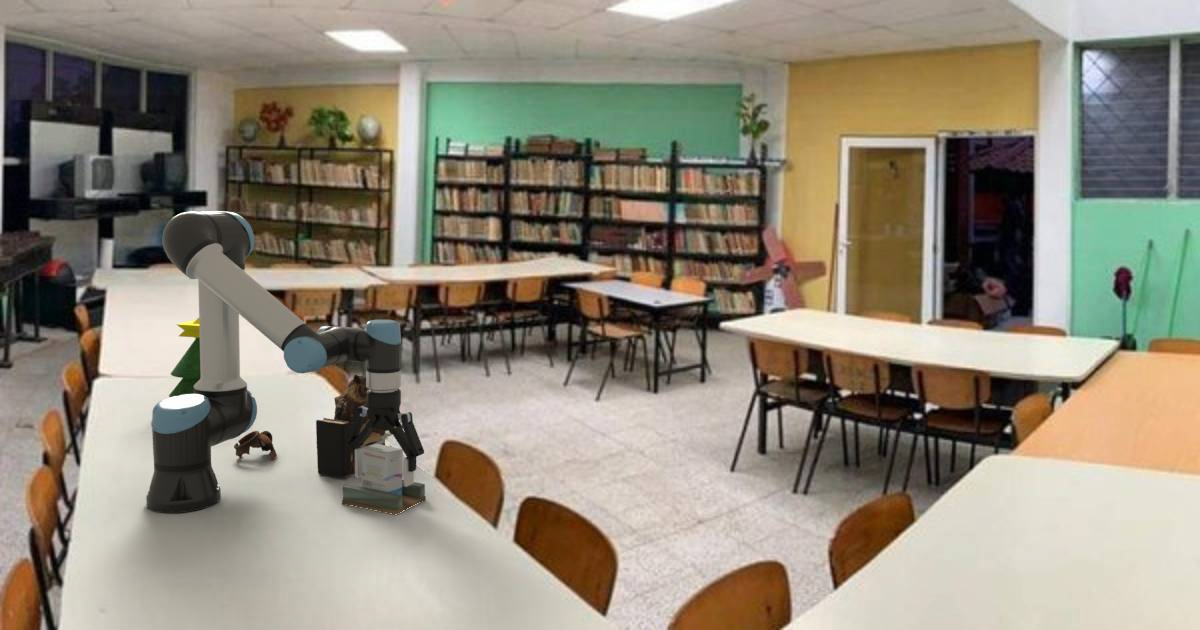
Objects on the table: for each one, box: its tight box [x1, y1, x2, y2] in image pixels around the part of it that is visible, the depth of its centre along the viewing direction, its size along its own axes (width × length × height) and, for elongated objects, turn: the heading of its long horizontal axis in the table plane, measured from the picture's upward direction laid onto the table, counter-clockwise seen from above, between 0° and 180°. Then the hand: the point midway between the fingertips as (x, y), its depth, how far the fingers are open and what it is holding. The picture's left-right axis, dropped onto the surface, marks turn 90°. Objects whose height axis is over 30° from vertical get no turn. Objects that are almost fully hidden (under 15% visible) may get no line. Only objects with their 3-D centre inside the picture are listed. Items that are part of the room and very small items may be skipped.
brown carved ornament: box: [233, 430, 278, 461], centre depth 235 cm, size 12×10×8 cm
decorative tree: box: [168, 317, 201, 398], centre depth 276 cm, size 19×19×30 cm
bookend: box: [315, 374, 382, 478], centre depth 225 cm, size 15×11×25 cm
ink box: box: [361, 444, 404, 495], centre depth 204 cm, size 9×5×12 cm, turn 59°
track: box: [341, 479, 427, 515], centre depth 204 cm, size 11×15×4 cm
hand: (384, 480), depth 204 cm, fingers open, 13 cm apart
